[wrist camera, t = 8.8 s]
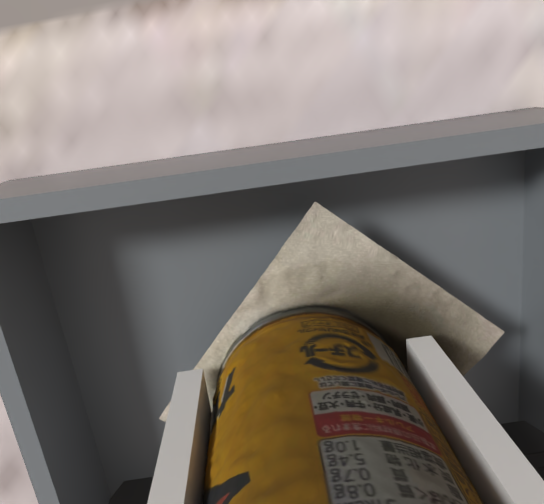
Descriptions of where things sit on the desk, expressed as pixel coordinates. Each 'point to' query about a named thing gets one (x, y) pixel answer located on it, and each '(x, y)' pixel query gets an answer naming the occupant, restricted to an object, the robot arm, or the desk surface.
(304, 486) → the condiment
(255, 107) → the desk surface
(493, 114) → the bin
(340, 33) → the desk surface
